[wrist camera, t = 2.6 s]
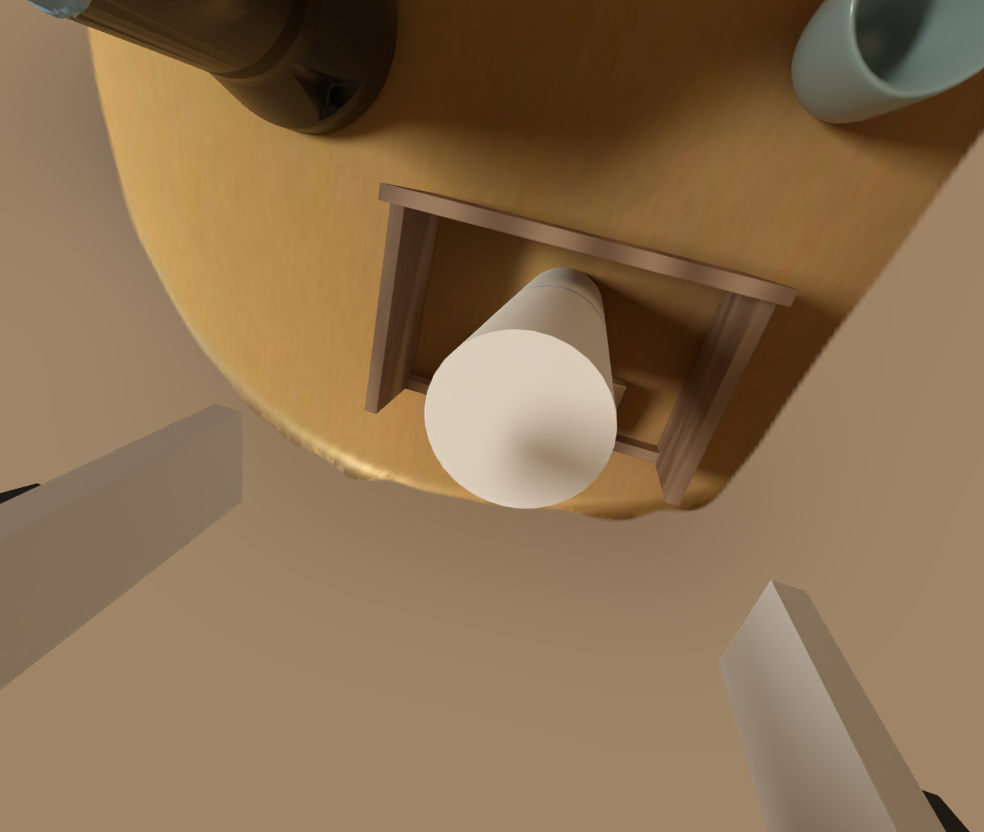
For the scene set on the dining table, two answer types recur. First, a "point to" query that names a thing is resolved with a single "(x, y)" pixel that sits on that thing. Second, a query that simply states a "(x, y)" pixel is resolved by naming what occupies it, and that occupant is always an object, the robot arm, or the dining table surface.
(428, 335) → the dining table surface
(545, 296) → the cylindrical container
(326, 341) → the dining table surface
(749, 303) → the rack
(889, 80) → the cup
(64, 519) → the robot arm
